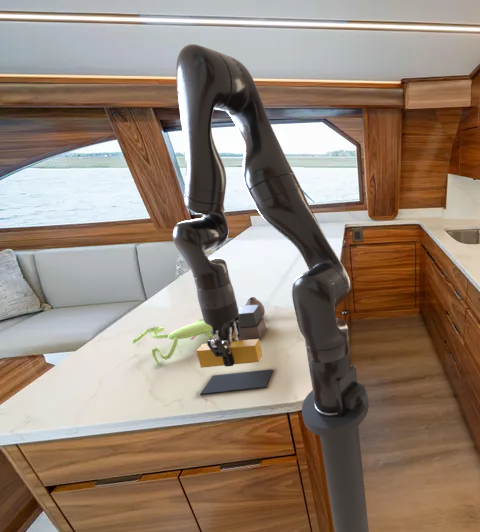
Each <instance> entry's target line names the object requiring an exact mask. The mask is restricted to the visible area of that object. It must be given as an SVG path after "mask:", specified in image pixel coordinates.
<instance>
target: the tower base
mask: <svg viewBox="0 0 480 532" xmlns="http://www.w3.org/2000/svg"><path fill="white" fill-rule="evenodd" d="M265 321H266V320H265V316H263V317H262V318H261V320H260V321H259V323H258V324H257V326H253V327H242V328H241V337H239V338H238V339H239V341H241V340H252V339H259V341H261V339H263V338H262V337H263V336H264V335H265V332H266V331H267V325H266V322H265Z"/></svg>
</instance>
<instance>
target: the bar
mask: <svg viewBox="0 0 480 532" xmlns="http://www.w3.org/2000/svg"><path fill="white" fill-rule="evenodd" d="M261 346H262V345H261V340H259V339H252V340H241V341H232V344H231V350H232V355H233V359H234V365H243V364H253V363H259V362H260V360H261V358H262V356H263V351H262V347H261ZM225 348H226V349H227V346H225ZM195 352H196V356H197V358H198V363H199V365H200V368H212V367H222V366H224V362H223V358H222V357H216V356H215V355H214V354H213V352H212V351H211V349H210V348H209V347H208V345H207V343H201V345H200V346H199V347H198V348H197V350H196V351H195ZM224 367H225V366H224Z"/></svg>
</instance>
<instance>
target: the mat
mask: <svg viewBox="0 0 480 532" xmlns="http://www.w3.org/2000/svg"><path fill="white" fill-rule="evenodd" d="M273 372H274V369H273V368H271V369H261V370H253V371H241V372H231V373H224V374H213V375H212V376H211V377H210V379H209V381H208V382H207V383H206V385H205V386H204V388H203V389H202V390H201V392H200V393H199V394H200V396H203V395H213V394H220V393H221V394H222V393H230V392H239V391H247V390H248V391H250V390H257V389H265V388H267V386H268V383H269V381H270V379H271V376H272V374H273Z"/></svg>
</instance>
